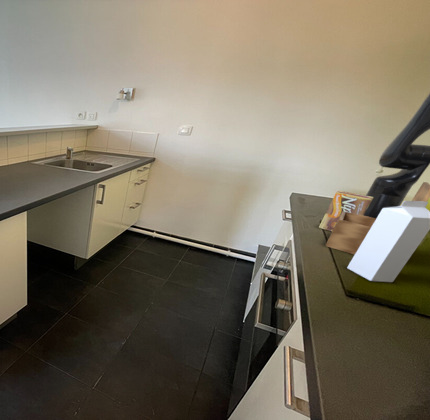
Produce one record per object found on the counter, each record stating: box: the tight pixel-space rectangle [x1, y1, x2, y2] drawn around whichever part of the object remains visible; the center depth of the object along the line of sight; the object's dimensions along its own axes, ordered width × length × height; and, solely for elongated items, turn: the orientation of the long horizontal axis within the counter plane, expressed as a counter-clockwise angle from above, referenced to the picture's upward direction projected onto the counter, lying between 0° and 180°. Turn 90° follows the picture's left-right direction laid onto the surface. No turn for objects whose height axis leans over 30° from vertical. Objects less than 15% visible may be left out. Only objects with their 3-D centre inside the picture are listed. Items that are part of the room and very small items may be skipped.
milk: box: [346, 200, 430, 283], centre depth 64 cm, size 6×6×22 cm
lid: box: [411, 181, 430, 202], centre depth 70 cm, size 13×15×5 cm
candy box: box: [318, 190, 374, 232], centre depth 92 cm, size 9×4×15 cm, turn 33°
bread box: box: [325, 211, 377, 256], centre depth 81 cm, size 13×15×10 cm
